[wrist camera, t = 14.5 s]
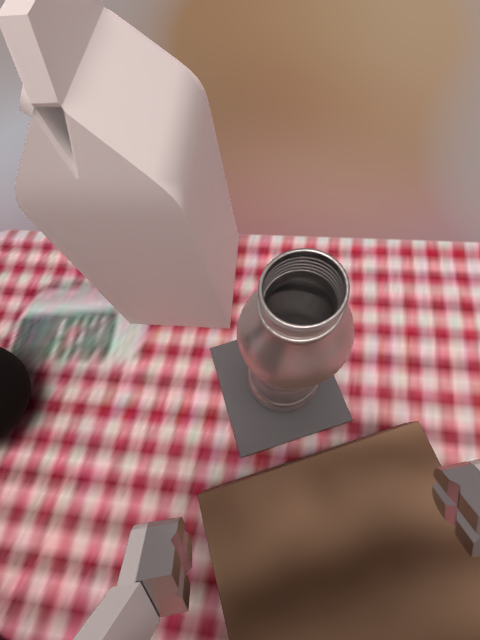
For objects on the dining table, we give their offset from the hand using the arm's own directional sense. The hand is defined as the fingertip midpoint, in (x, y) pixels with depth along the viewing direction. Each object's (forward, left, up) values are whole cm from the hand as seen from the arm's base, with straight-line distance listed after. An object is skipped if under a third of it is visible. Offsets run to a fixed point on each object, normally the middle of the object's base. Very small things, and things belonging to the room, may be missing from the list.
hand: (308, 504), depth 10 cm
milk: (+22, +4, -21) cm, 31 cm away
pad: (+7, -2, -20) cm, 22 cm away
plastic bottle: (+7, -3, -20) cm, 21 cm away
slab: (-8, -2, -20) cm, 22 cm away
